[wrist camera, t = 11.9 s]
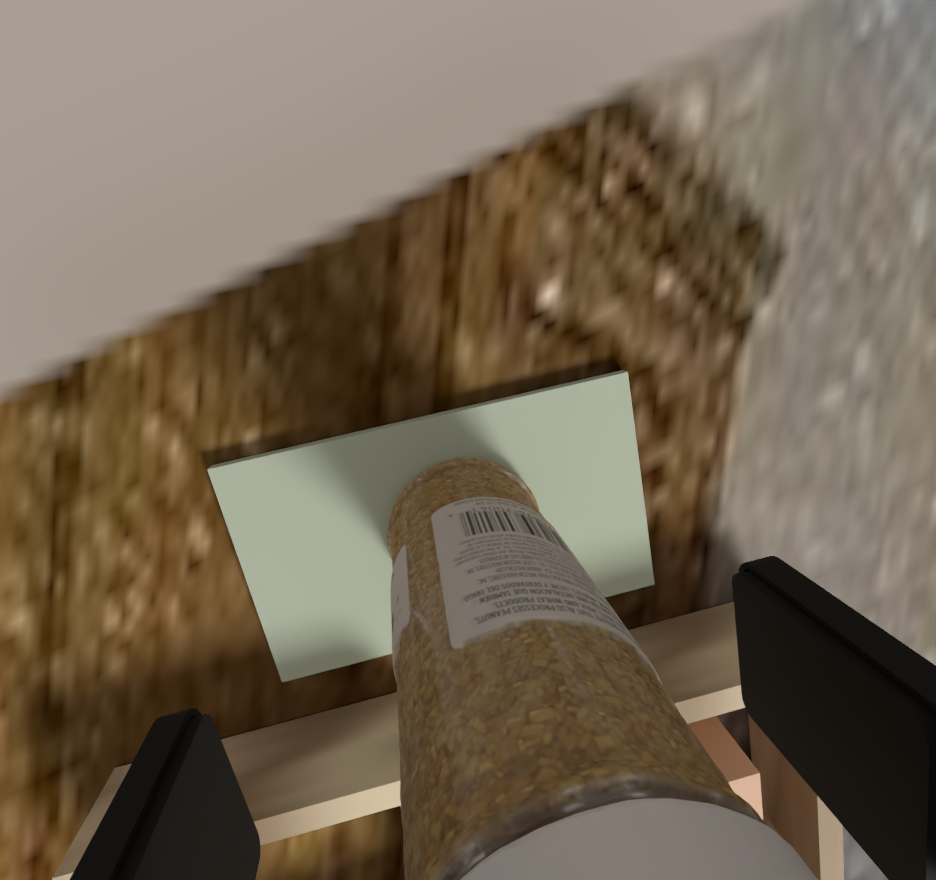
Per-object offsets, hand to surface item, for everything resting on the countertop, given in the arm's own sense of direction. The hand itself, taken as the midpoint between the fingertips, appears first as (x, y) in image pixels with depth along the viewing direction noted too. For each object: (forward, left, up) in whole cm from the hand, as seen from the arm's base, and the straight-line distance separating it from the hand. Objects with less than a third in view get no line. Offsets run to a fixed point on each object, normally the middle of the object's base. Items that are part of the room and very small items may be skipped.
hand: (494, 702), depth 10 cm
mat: (0, 0, -8) cm, 8 cm away
